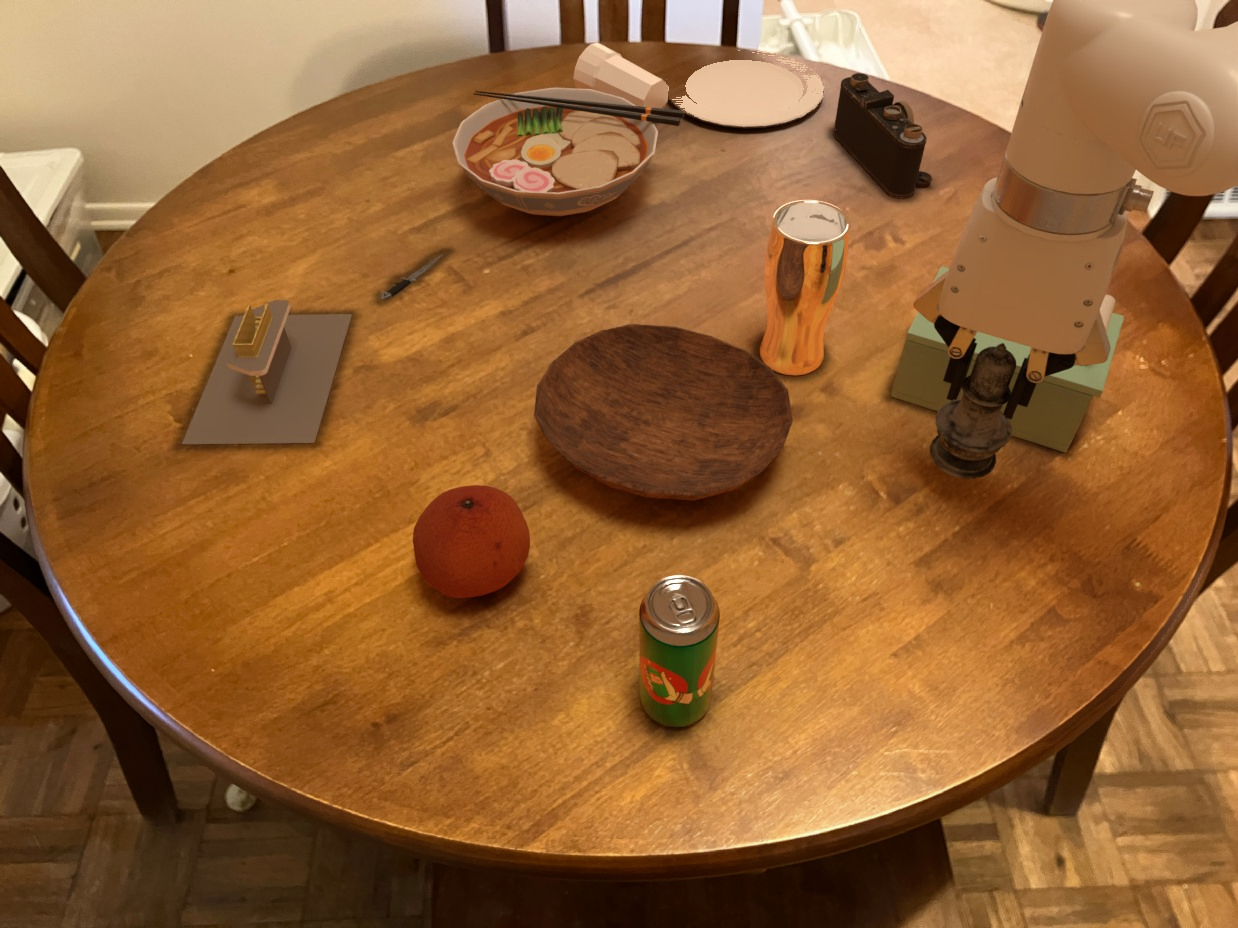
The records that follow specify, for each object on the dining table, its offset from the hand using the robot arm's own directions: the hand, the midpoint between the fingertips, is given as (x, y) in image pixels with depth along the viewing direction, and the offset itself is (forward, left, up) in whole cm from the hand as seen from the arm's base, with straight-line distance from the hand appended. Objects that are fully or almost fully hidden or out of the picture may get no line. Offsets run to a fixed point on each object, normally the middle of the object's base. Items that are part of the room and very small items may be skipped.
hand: (983, 396), depth 74 cm
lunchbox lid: (0, -13, -3) cm, 13 cm away
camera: (+21, -47, -10) cm, 52 cm away
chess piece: (0, 0, -7) cm, 7 cm away
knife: (+58, -3, -10) cm, 59 cm away
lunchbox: (0, -13, -10) cm, 16 cm away
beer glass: (+18, -9, -10) cm, 23 cm away
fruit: (+31, +26, -10) cm, 42 cm away
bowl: (+24, +7, -10) cm, 27 cm away
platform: (+61, +16, -10) cm, 64 cm away
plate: (+42, -54, -11) cm, 70 cm away
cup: (+49, -43, -7) cm, 66 cm away
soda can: (+12, +29, -10) cm, 33 cm away
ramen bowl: (+52, -23, -10) cm, 58 cm away
